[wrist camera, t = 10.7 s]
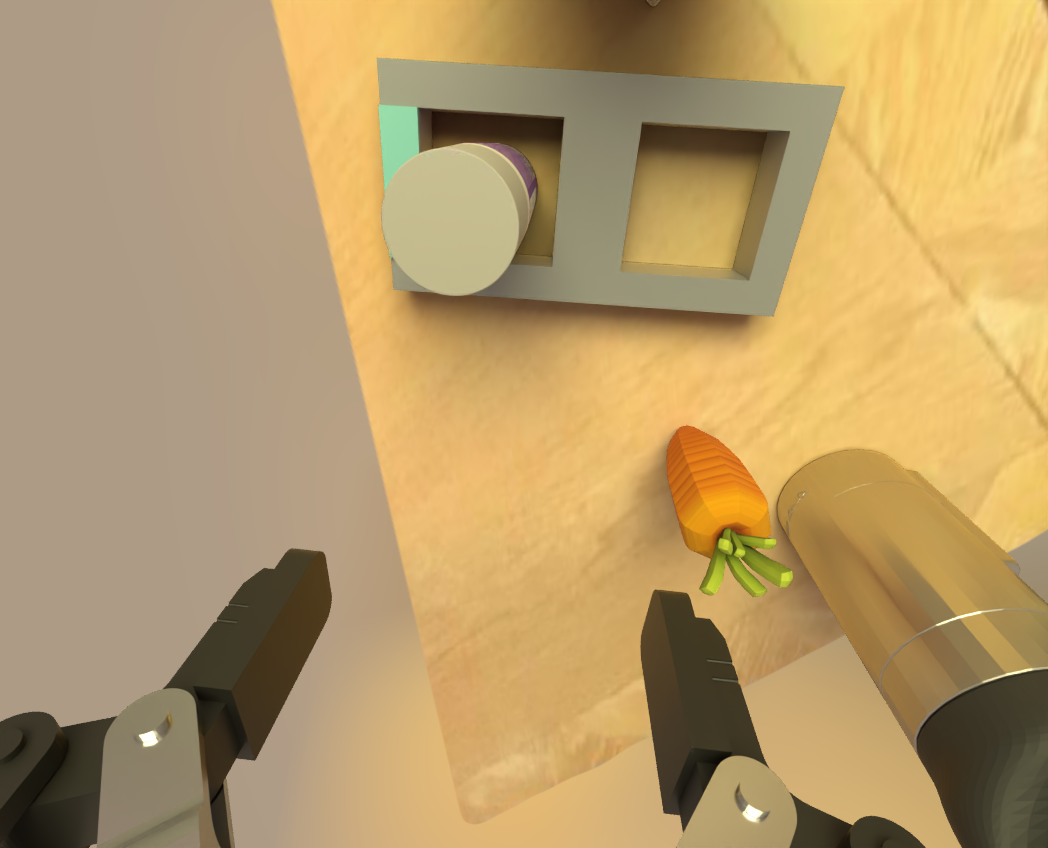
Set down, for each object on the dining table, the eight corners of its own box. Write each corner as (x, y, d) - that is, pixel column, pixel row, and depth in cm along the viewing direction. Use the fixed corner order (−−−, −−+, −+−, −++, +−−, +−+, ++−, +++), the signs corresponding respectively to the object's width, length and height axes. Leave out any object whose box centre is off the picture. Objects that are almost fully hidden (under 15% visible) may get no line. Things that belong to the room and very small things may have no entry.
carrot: (642, 455, 37) (689, 624, 24) (655, 396, 35) (715, 547, 22) (708, 461, 37) (792, 632, 24) (726, 401, 35) (830, 557, 22)
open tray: (815, 92, 26) (847, 86, 23) (755, 302, 31) (775, 318, 28) (394, 66, 26) (374, 56, 23) (406, 277, 32) (392, 291, 29)
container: (445, 156, 28) (352, 169, 15) (525, 131, 27) (498, 121, 14) (472, 241, 30) (409, 314, 17) (546, 219, 30) (539, 280, 17)
